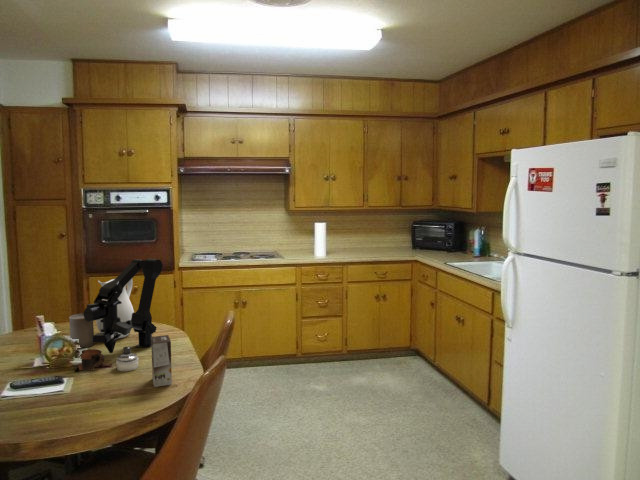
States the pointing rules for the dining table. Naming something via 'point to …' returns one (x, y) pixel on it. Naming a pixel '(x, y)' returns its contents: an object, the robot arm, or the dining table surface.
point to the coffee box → (161, 360)
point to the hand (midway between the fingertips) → (111, 352)
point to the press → (127, 365)
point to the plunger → (127, 355)
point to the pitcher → (121, 306)
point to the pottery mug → (91, 359)
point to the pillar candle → (81, 330)
